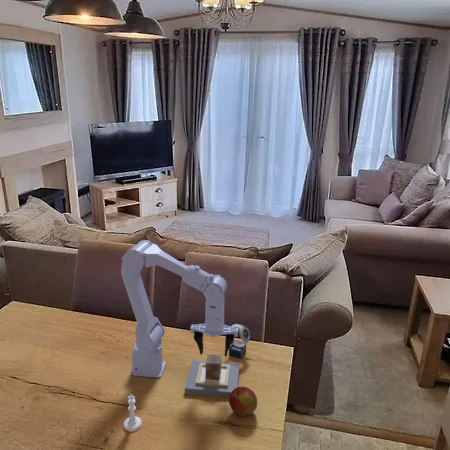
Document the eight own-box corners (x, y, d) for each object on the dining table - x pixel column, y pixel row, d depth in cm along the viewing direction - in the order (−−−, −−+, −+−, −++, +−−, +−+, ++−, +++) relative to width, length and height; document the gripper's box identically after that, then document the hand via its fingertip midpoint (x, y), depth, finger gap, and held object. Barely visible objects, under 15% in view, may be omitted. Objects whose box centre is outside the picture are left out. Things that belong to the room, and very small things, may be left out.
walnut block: (205, 379, 131) (205, 362, 129) (207, 370, 135) (207, 354, 133) (219, 380, 130) (220, 364, 129) (220, 371, 135) (221, 355, 133)
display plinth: (184, 393, 127) (184, 386, 126) (192, 365, 141) (192, 358, 140) (236, 398, 126) (236, 390, 125) (239, 369, 139) (239, 362, 139)
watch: (245, 360, 144) (246, 332, 141) (224, 354, 147) (225, 326, 144) (251, 351, 149) (252, 325, 146) (230, 345, 152) (231, 319, 149)
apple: (236, 399, 126) (237, 377, 123) (260, 409, 122) (262, 387, 119) (223, 415, 119) (224, 392, 117) (248, 426, 116) (250, 403, 113)
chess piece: (124, 418, 117) (123, 388, 114) (142, 417, 118) (141, 388, 114) (122, 431, 112) (120, 401, 109) (140, 431, 113) (139, 401, 110)
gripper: (188, 320, 123) (188, 359, 127) (237, 324, 122) (235, 363, 126) (192, 308, 130) (192, 346, 134) (239, 311, 128) (237, 349, 133)
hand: (213, 353), depth 130 cm, fingers open, 7 cm apart
